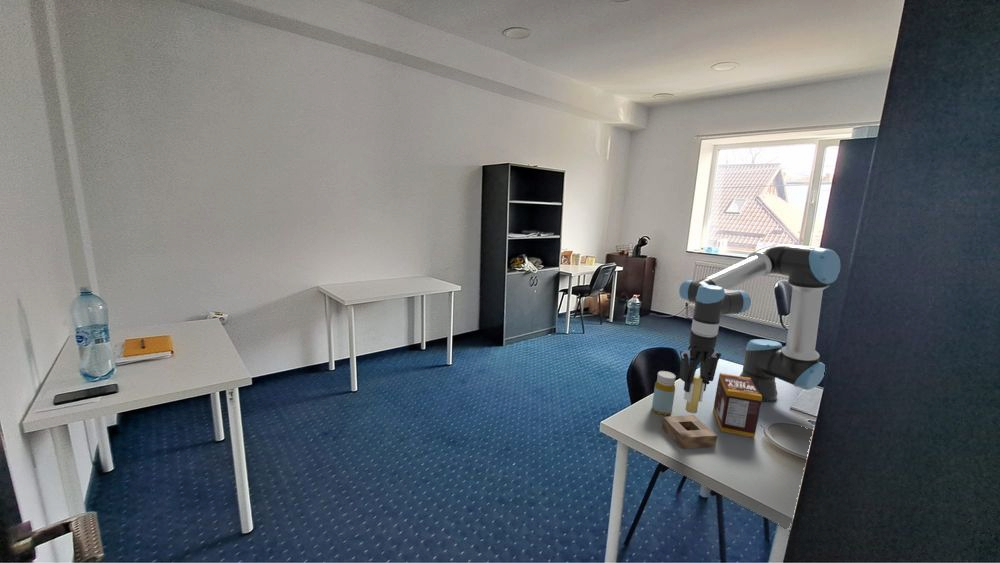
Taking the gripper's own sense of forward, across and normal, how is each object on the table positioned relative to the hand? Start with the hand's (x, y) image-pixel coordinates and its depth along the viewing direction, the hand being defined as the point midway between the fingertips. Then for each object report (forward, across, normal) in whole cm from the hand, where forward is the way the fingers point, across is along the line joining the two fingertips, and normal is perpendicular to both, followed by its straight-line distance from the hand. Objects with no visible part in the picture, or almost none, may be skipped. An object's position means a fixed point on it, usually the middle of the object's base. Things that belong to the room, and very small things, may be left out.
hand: (692, 399), depth 128 cm
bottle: (+14, 0, -16) cm, 21 cm away
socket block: (+14, 0, 0) cm, 14 cm away
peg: (+4, 0, 0) cm, 4 cm away
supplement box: (+14, -22, -6) cm, 27 cm away
